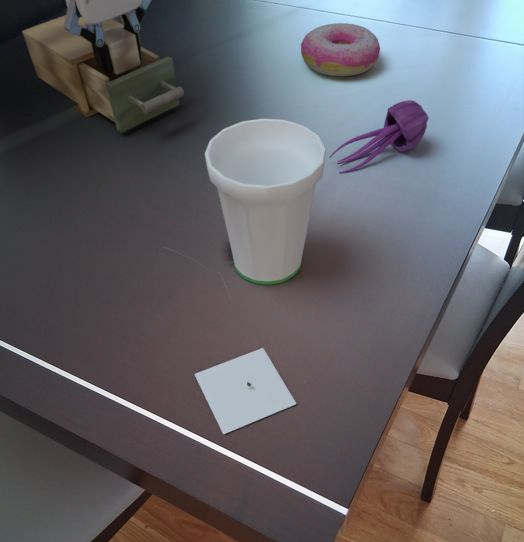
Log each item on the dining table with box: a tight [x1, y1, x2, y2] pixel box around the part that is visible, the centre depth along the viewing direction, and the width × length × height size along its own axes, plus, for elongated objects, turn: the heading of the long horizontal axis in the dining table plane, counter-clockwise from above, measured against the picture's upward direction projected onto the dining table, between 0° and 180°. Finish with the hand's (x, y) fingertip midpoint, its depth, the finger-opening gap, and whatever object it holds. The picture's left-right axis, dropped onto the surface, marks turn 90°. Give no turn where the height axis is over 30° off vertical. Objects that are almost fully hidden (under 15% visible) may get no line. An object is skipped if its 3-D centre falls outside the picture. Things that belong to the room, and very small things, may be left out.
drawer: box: [77, 45, 185, 133], centre depth 88 cm, size 18×11×7 cm, turn 44°
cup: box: [204, 118, 327, 286], centre depth 64 cm, size 12×12×15 cm
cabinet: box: [21, 15, 143, 118], centre depth 94 cm, size 15×13×9 cm
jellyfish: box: [328, 99, 429, 174], centre depth 81 cm, size 7×7×15 cm
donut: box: [300, 22, 381, 77], centre depth 98 cm, size 14×13×5 cm
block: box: [103, 26, 141, 75], centre depth 85 cm, size 4×4×4 cm
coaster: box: [194, 347, 297, 435], centre depth 58 cm, size 8×8×1 cm
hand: (120, 62), depth 87 cm, fingers closed on block, 4 cm apart
